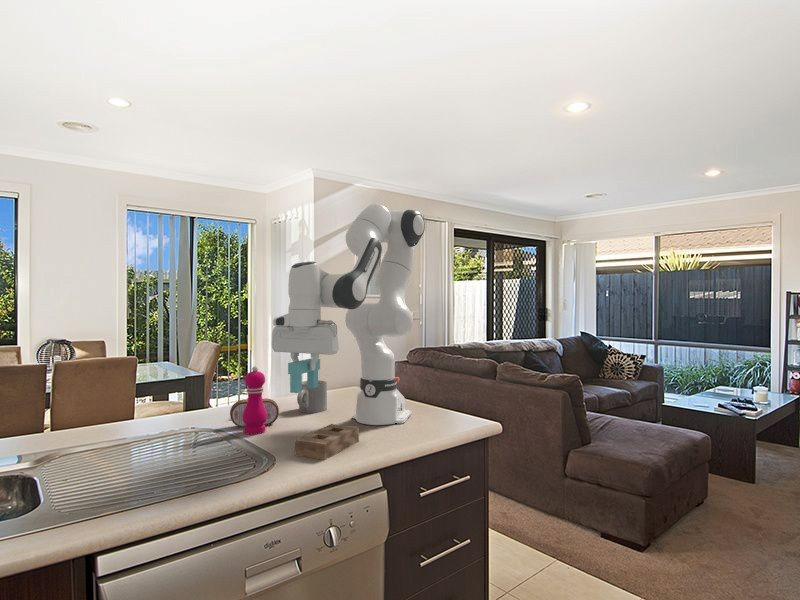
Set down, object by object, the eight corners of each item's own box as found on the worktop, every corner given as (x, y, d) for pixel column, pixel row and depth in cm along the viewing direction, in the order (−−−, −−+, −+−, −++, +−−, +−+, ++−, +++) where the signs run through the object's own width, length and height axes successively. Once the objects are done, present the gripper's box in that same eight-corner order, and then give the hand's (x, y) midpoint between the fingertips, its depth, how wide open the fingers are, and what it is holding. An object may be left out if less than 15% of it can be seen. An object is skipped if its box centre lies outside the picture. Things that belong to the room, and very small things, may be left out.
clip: (311, 385, 145) (311, 358, 145) (320, 386, 144) (320, 358, 144) (288, 392, 135) (288, 362, 135) (297, 393, 134) (297, 363, 134)
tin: (278, 422, 164) (278, 397, 164) (279, 425, 161) (279, 398, 161) (229, 426, 159) (229, 399, 159) (229, 428, 156) (229, 401, 156)
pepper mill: (260, 435, 148) (260, 368, 148) (237, 434, 150) (238, 367, 149) (271, 429, 155) (271, 365, 155) (249, 428, 157) (250, 364, 156)
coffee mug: (313, 405, 190) (313, 379, 189) (332, 409, 184) (332, 382, 184) (285, 412, 179) (285, 384, 179) (304, 416, 173) (305, 387, 173)
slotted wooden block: (331, 437, 146) (331, 423, 146) (358, 441, 143) (358, 427, 143) (295, 455, 130) (295, 439, 130) (324, 459, 126) (324, 444, 126)
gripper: (342, 320, 138) (342, 370, 138) (282, 318, 146) (282, 365, 146) (330, 321, 132) (330, 373, 132) (268, 319, 140) (268, 368, 140)
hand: (304, 369), depth 139 cm, fingers closed on clip, 3 cm apart
